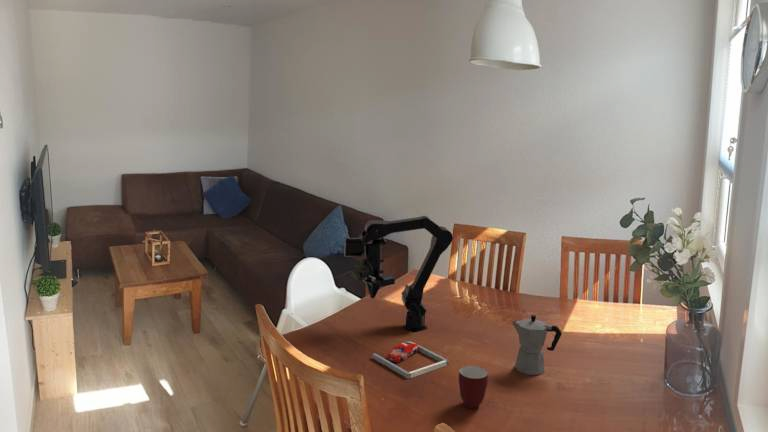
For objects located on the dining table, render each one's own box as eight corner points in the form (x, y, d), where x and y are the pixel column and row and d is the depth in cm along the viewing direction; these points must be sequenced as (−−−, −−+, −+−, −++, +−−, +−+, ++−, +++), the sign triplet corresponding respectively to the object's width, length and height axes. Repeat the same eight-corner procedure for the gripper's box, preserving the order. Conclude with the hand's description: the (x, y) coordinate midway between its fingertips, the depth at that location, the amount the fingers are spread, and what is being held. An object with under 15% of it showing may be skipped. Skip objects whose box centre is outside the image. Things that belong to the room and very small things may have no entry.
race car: (397, 365, 202) (397, 354, 201) (383, 361, 205) (384, 349, 204) (420, 352, 212) (421, 341, 211) (407, 348, 215) (408, 337, 215)
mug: (463, 392, 185) (465, 360, 183) (490, 397, 182) (492, 365, 180) (454, 408, 175) (455, 375, 173) (482, 414, 172) (484, 380, 170)
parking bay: (412, 346, 216) (412, 341, 216) (448, 364, 203) (449, 360, 202) (372, 358, 206) (372, 354, 206) (408, 378, 192) (408, 374, 192)
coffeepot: (505, 371, 199) (509, 317, 195) (511, 359, 207) (515, 307, 204) (556, 380, 193) (560, 325, 190) (560, 368, 202) (564, 314, 198)
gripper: (339, 253, 227) (339, 295, 230) (370, 266, 213) (370, 310, 216) (364, 249, 234) (364, 289, 237) (396, 260, 219) (395, 303, 223)
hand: (372, 298), depth 228 cm, fingers closed
